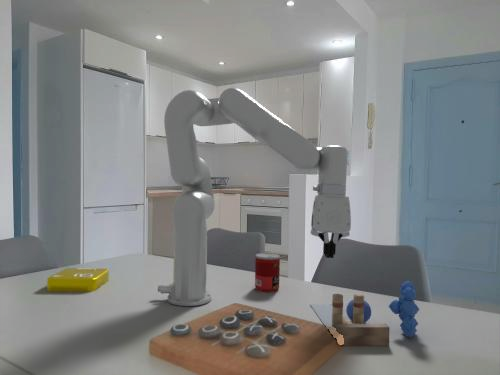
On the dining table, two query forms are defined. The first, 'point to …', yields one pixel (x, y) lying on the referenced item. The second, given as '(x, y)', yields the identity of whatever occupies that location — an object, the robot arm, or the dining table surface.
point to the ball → (366, 311)
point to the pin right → (358, 309)
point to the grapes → (406, 308)
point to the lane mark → (326, 313)
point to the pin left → (337, 310)
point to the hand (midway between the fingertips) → (329, 257)
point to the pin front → (346, 321)
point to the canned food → (267, 272)
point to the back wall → (364, 334)
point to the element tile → (77, 280)
